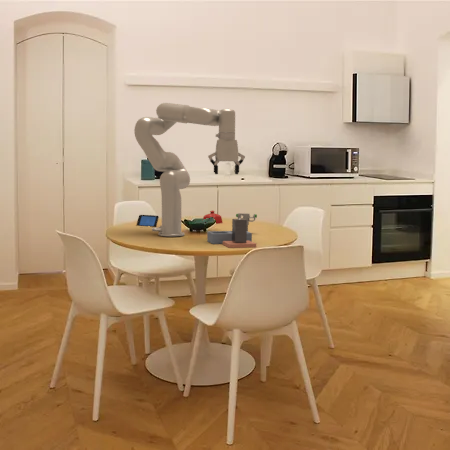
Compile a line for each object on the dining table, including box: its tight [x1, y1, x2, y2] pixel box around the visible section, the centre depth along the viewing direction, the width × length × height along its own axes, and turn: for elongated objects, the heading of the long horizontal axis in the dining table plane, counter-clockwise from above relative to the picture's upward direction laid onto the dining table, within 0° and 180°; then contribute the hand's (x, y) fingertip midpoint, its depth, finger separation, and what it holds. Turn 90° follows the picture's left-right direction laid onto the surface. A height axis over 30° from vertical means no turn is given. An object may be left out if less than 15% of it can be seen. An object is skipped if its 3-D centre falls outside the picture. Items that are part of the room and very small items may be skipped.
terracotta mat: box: [222, 240, 257, 249], centre depth 282 cm, size 12×11×2 cm
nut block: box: [231, 218, 247, 243], centre depth 282 cm, size 5×5×10 cm
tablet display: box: [135, 214, 160, 228], centre depth 344 cm, size 12×10×7 cm
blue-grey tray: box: [206, 230, 253, 245], centre depth 294 cm, size 18×10×4 cm, turn 105°
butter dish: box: [202, 210, 223, 225], centre depth 364 cm, size 12×12×8 cm
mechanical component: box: [235, 213, 258, 232], centre depth 327 cm, size 3×10×10 cm, turn 79°
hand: (226, 174), depth 301 cm, fingers open, 9 cm apart
